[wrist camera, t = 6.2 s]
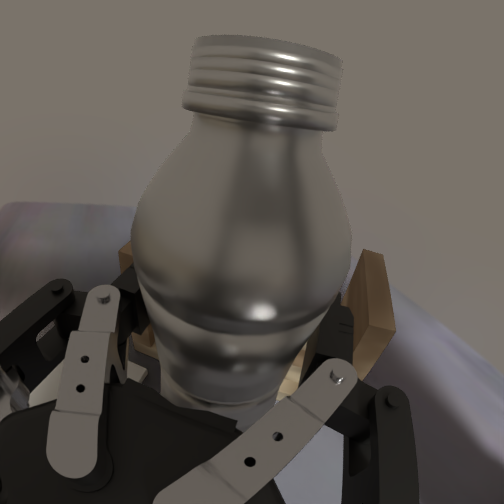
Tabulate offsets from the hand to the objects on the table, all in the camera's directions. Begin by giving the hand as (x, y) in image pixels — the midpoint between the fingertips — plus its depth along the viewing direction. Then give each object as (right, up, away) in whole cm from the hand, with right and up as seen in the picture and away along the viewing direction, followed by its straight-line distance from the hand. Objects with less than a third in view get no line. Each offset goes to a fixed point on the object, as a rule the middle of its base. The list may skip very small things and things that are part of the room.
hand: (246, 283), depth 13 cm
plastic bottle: (-2, -10, +4) cm, 11 cm away
